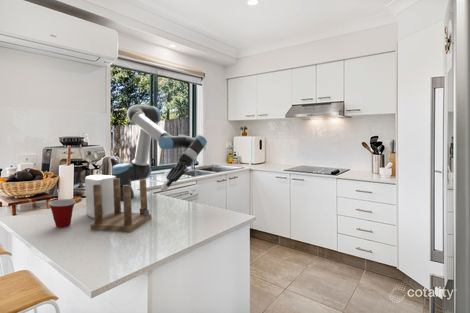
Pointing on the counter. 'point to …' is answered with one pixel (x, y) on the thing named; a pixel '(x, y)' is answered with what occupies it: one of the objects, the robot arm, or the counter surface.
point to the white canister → (106, 194)
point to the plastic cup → (62, 212)
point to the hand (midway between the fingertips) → (162, 190)
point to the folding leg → (143, 194)
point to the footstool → (116, 211)
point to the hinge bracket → (146, 212)
